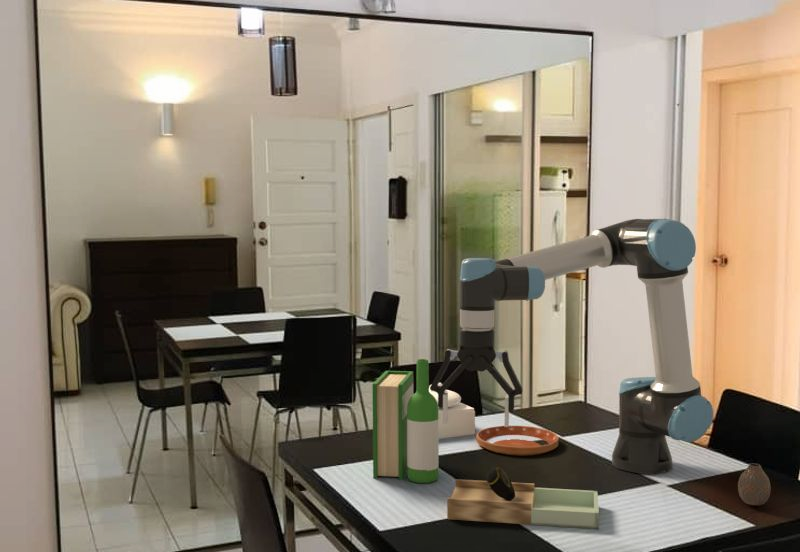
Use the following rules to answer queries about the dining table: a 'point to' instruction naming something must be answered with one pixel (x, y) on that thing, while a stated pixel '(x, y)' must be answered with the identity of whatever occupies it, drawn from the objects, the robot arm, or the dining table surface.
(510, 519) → the wooden tray
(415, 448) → the wine bottle
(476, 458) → the dining table surface
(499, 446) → the saucer
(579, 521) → the tray
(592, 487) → the dining table surface
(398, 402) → the hardback book
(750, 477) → the vase
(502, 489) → the tape measure
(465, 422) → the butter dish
